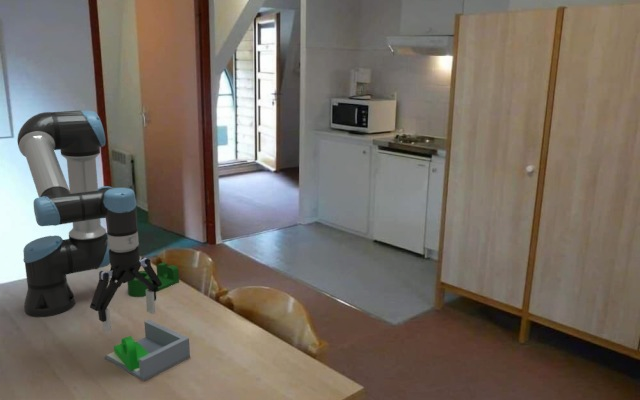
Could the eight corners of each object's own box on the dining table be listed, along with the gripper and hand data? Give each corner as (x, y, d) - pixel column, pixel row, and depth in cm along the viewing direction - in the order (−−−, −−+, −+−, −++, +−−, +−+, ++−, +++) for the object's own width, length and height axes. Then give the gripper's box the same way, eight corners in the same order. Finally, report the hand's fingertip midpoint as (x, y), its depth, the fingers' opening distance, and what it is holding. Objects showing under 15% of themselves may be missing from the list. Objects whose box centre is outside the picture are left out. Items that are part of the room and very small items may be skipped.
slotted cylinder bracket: (139, 299, 188) (138, 282, 186) (123, 293, 193) (121, 276, 191) (179, 282, 203) (178, 266, 201) (162, 277, 207) (161, 261, 206)
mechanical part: (152, 363, 146) (150, 336, 144) (130, 370, 143) (127, 343, 141) (135, 345, 155) (133, 320, 153) (114, 352, 152) (112, 326, 150)
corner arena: (104, 358, 150) (102, 339, 149) (150, 337, 162) (148, 319, 160) (144, 381, 140) (142, 360, 138) (190, 356, 151) (188, 338, 150)
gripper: (87, 265, 130) (95, 344, 135) (172, 238, 149) (176, 309, 155) (70, 257, 134) (78, 335, 140) (155, 232, 153) (159, 301, 159)
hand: (129, 321), depth 147 cm, fingers open, 13 cm apart
